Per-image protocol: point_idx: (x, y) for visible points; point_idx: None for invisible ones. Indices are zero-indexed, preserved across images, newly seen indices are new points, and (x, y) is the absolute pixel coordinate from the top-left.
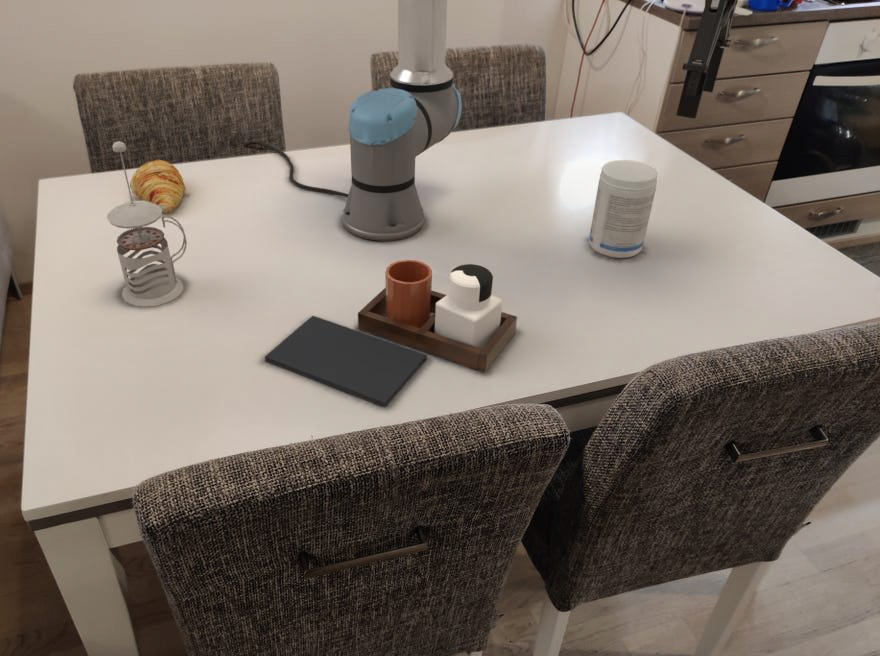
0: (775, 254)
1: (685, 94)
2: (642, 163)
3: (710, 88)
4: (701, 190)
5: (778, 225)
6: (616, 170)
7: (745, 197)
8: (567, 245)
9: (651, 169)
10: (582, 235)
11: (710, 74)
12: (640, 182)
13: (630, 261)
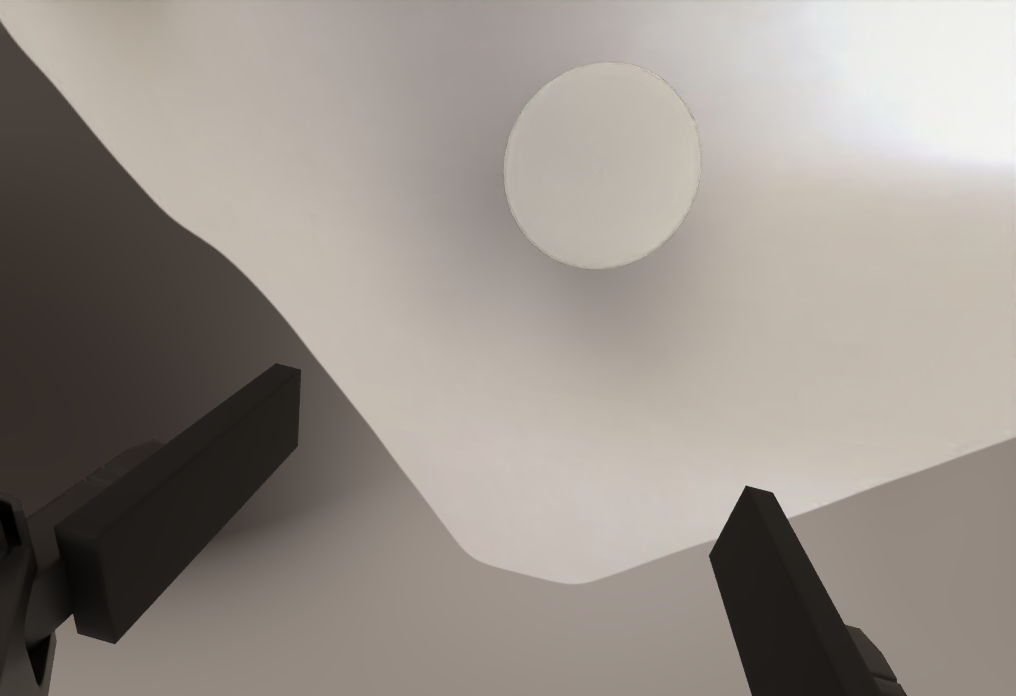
0: (635, 478)
1: (149, 441)
2: (673, 218)
3: (719, 561)
4: (961, 381)
5: None
6: (585, 122)
7: (916, 470)
8: (570, 35)
9: (621, 249)
10: None
11: (749, 613)
12: (512, 213)
13: None
